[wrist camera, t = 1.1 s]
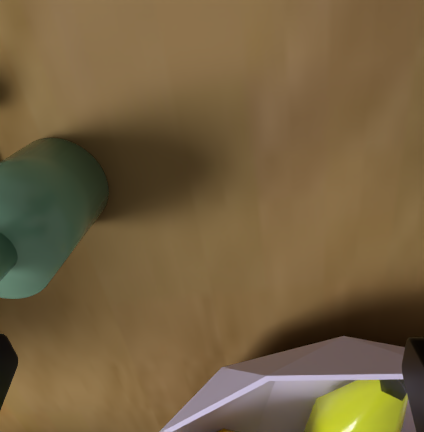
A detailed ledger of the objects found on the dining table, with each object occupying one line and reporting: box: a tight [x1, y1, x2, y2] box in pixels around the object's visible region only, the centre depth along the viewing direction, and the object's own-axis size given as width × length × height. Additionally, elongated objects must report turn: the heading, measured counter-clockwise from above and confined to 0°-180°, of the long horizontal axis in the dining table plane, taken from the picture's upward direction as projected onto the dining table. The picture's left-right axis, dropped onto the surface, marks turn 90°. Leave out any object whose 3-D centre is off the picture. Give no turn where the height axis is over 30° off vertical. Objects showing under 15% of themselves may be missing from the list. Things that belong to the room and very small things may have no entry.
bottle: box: [0, 138, 109, 299], centre depth 17 cm, size 5×5×9 cm
